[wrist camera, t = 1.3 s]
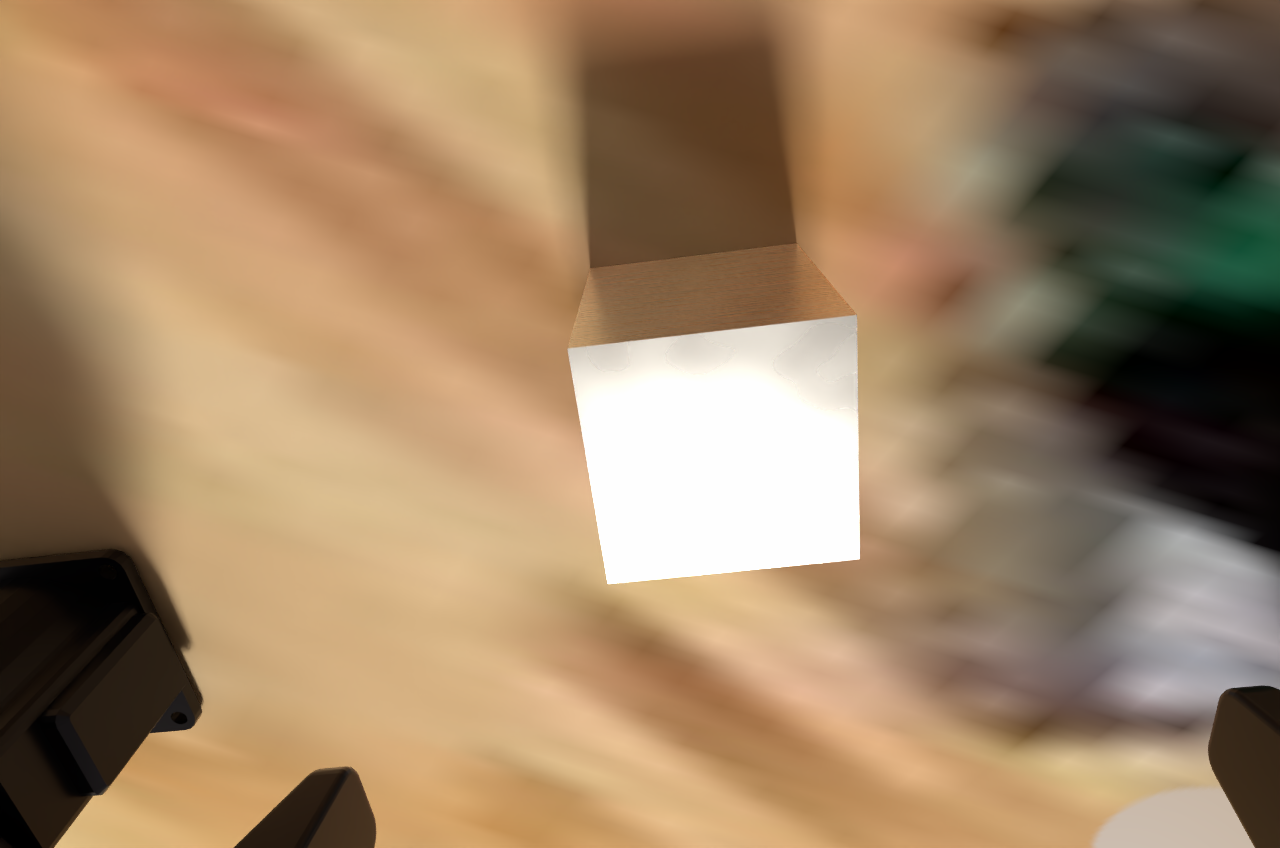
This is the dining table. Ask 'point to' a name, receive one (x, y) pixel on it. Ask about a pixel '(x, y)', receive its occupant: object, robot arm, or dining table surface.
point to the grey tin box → (718, 413)
